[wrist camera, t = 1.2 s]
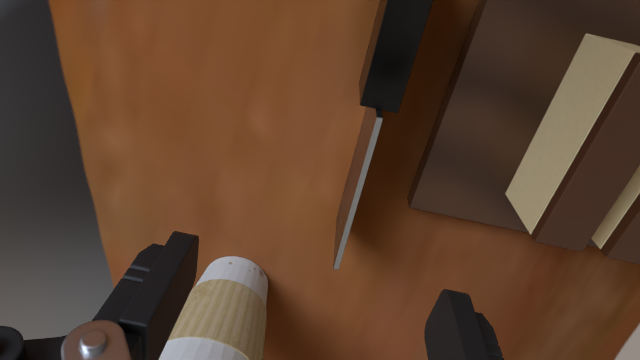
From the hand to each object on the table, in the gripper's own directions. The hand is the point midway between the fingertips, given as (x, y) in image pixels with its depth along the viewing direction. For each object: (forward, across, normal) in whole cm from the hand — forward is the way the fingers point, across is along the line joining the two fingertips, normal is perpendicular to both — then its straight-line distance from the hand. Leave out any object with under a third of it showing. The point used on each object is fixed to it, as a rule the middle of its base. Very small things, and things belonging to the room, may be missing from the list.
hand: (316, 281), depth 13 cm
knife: (+19, -3, 0) cm, 20 cm away
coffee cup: (+19, +5, +21) cm, 29 cm away
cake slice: (+18, -16, -2) cm, 24 cm away
